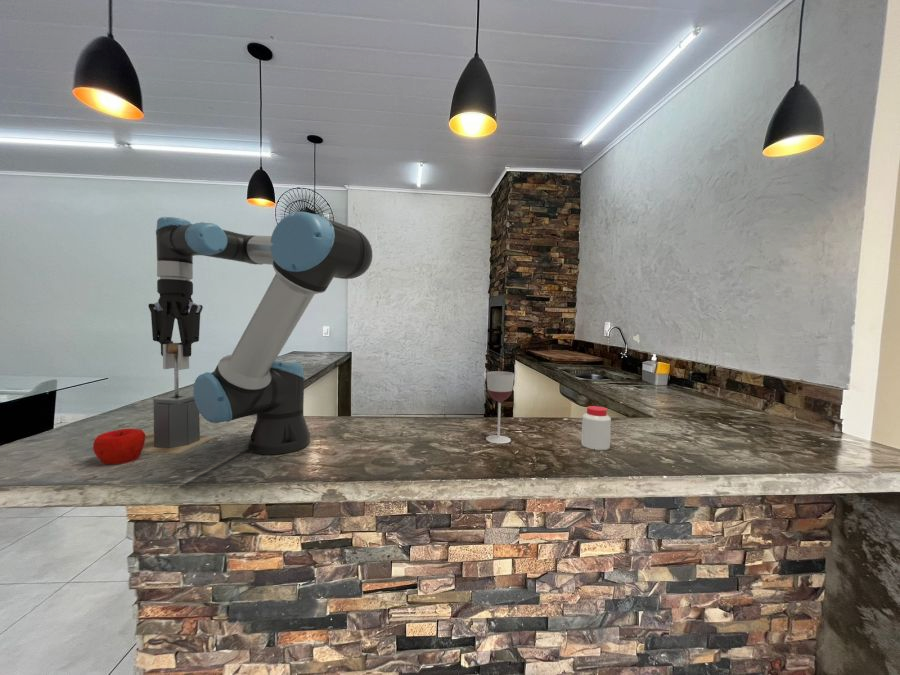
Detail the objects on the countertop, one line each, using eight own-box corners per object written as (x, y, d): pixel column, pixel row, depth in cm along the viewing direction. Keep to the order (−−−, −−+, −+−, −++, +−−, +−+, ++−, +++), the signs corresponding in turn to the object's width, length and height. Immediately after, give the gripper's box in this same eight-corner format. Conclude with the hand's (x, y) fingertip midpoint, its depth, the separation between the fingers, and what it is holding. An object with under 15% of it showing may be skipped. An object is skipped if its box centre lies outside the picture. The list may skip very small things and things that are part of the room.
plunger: (198, 414, 101) (197, 342, 100) (178, 420, 95) (177, 344, 94) (175, 413, 102) (174, 342, 101) (154, 419, 95) (153, 343, 94)
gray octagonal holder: (213, 434, 105) (212, 392, 105) (179, 448, 93) (178, 401, 93) (181, 432, 106) (181, 391, 105) (144, 446, 94) (143, 400, 94)
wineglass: (516, 438, 113) (518, 372, 112) (504, 445, 105) (506, 376, 104) (492, 433, 117) (494, 370, 116) (479, 440, 110) (481, 373, 109)
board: (216, 440, 104) (216, 436, 104) (178, 458, 91) (178, 453, 91) (143, 436, 105) (143, 432, 105) (96, 452, 93) (96, 448, 92)
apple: (87, 475, 80) (87, 439, 79) (101, 461, 88) (101, 428, 87) (140, 468, 84) (140, 434, 84) (149, 455, 92) (149, 424, 92)
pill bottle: (580, 447, 106) (582, 409, 105) (581, 439, 113) (583, 404, 112) (610, 451, 103) (611, 412, 102) (609, 443, 110) (611, 406, 109)
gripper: (215, 281, 100) (216, 368, 101) (158, 280, 101) (159, 365, 102) (194, 278, 92) (194, 371, 93) (132, 277, 94) (134, 369, 95)
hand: (176, 368), depth 98 cm, fingers closed on plunger, 4 cm apart
